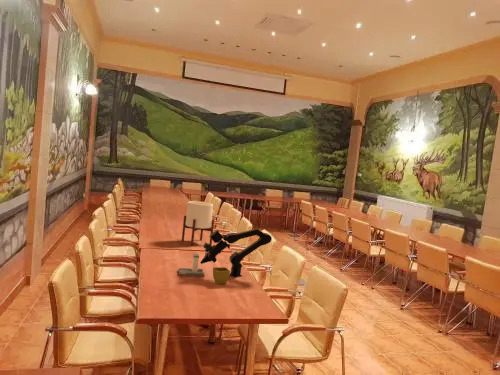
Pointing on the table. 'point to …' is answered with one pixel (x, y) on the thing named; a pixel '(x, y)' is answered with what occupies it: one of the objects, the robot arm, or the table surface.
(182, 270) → the grey railed base plate
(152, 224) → the table surface
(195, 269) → the fader knob
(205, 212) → the plant pot with stand
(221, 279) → the flower pot
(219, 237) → the robot arm
